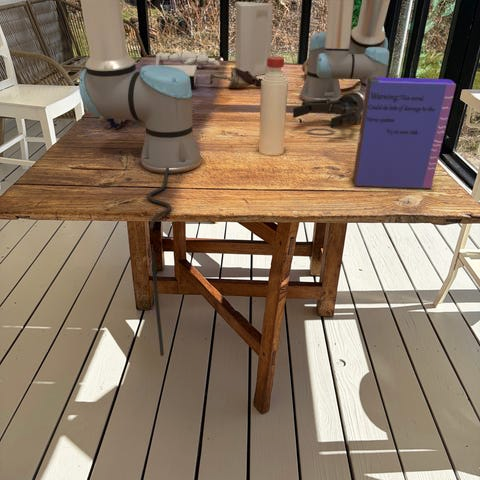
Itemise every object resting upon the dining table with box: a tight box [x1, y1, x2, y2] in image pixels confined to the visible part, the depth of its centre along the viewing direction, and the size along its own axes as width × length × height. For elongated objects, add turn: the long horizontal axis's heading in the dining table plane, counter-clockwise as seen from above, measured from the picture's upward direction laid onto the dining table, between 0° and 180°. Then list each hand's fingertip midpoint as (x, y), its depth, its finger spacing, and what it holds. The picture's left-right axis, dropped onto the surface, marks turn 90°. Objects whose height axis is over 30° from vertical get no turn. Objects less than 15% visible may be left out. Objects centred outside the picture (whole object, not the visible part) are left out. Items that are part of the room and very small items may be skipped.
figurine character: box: [98, 116, 126, 130], centre depth 148 cm, size 7×8×15 cm
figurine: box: [209, 66, 262, 89], centre depth 190 cm, size 24×8×30 cm
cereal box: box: [352, 77, 457, 190], centre depth 107 cm, size 17×5×24 cm, turn 86°
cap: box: [267, 56, 285, 69], centre depth 120 cm, size 4×4×2 cm
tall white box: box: [234, 1, 274, 77], centre depth 210 cm, size 19×15×28 cm
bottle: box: [258, 67, 289, 156], centre depth 126 cm, size 7×7×24 cm
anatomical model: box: [301, 58, 308, 78], centre depth 206 cm, size 13×9×15 cm
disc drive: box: [164, 64, 198, 90], centre depth 197 cm, size 18×22×5 cm
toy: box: [155, 50, 221, 69], centre depth 223 cm, size 24×25×7 cm
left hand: (179, 6), depth 147 cm, fingers open, 13 cm apart
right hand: (312, 118), depth 137 cm, fingers open, 13 cm apart
